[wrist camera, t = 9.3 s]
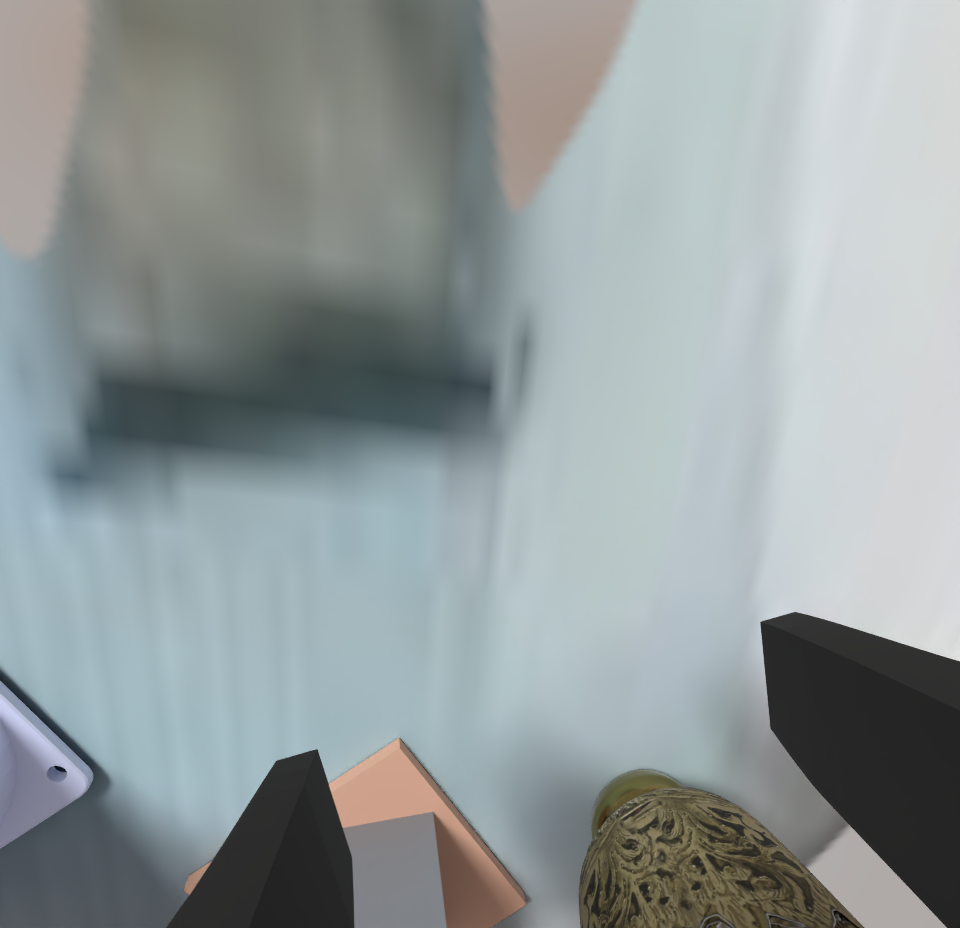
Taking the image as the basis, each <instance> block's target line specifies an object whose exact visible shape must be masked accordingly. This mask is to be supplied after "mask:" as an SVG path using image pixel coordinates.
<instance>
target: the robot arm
mask: <svg viewBox="0 0 960 928" xmlns="http://www.w3.org/2000/svg"><path fill="white" fill-rule="evenodd" d="M760 623H761V633H762V644H763V654H764V664H765V675H766V685H767V696H768V706H769V716H770V727H771V730H772V731H773V732H774V734H775V735H776V737H777V738H778V739H779V741H780V742H781V743H782V745H783V746H784V748H785V749H786V750H787V752H788V753H789V755H790V756H791V757H792V759H793V760H794V761H795V763H796V764H797V765H798V767H799V768H800V769H801V770H802V772H803V773H804V774H805V776H806V777H807V778H808V780H809V781H810V782H811V783H812V785H813V786H814V787H815V788H816V789H817V790H818V791H819V793H820V794H821V795H822V796H823V797H824V798H825V799H826V800H827V801H828V802H829V803H830V804H831V806H832V807H833V808H834V809H835V810H836V811H837V812H838V813H839V814H840V815H841V816H842V817H843V818H844V819H845V821H846V822H847V823H848V824H849V825H850V826H851V827H852V828H853V829H854V830H855V831H856V832H857V833H858V834H859V835H860V836H861V837H862V839H863V840H864V841H865V842H866V843H867V844H868V845H869V846H870V847H871V848H872V849H873V850H874V851H875V852H876V853H877V854H878V855H879V856H880V858H882V860H883V861H884V862H885V863H886V864H887V865H888V866H889V867H890V868H891V869H892V870H893V871H894V872H895V873H896V874H897V875H898V876H899V877H900V878H901V880H903V882H904V883H905V884H906V885H907V886H908V887H909V888H910V889H911V890H912V891H913V892H914V893H915V894H916V895H917V896H918V897H919V899H920V900H922V902H923V903H924V904H925V905H926V906H927V907H928V908H929V909H930V910H931V911H932V912H933V913H934V914H935V915H936V916H937V917H938V919H939V920H940V921H941V922H942V923H943V924H944V925H945V926H946V927H947V928H960V661H956V660H953V659H950V658H946V657H943V656H940V655H936V654H933V653H930V652H927V651H923V650H920V649H917V648H914V647H911V646H907V645H904V644H901V643H898V642H895V641H892V640H888V639H885V638H882V637H879V636H876V635H873V634H869V633H866V632H863V631H860V630H857V629H854V628H850V627H847V626H844V625H841V624H837V623H834V622H831V621H827V620H824V619H820V618H817V617H813V616H809V615H805V614H801V613H797V612H793V613H790V614H786V615H783V616H779V617H776V618H772V619H769V620H765V621H762V622H760ZM54 766H61V767H63V768H65V770H66V771H67V772H60V771H58V770H56V769H55V767H54ZM92 781H93V772H92V771H91V769H90V768H89V767H88V766H87V765H86V764H85V763H84V762H83V761H82V760H81V759H80V758H79V757H78V756H77V755H76V754H75V753H74V752H73V751H72V750H71V749H70V748H69V747H68V746H67V745H66V744H65V743H64V742H63V741H62V740H61V739H60V738H59V737H58V736H57V735H56V734H54V733H53V732H52V731H51V730H50V729H49V728H48V727H47V726H46V725H45V724H44V723H43V722H42V721H41V720H40V719H39V718H38V717H37V716H36V715H35V714H34V713H33V712H32V711H31V710H30V709H29V708H28V707H27V706H26V705H25V704H24V703H23V702H22V701H21V700H19V699H18V698H17V697H16V696H15V695H14V694H13V693H12V692H11V691H10V690H9V689H8V688H7V687H6V686H5V685H4V684H3V683H2V682H1V681H0V849H1V848H2V847H4V846H6V845H7V844H9V843H10V842H12V841H13V840H15V839H16V838H18V837H19V836H21V835H22V834H24V833H26V832H27V831H29V830H30V829H32V828H33V827H35V826H36V825H38V824H39V823H41V822H42V821H44V820H46V819H47V818H49V817H50V816H52V815H53V814H55V813H56V812H58V811H59V810H61V809H62V808H64V807H66V806H67V805H69V804H70V803H72V802H73V801H75V800H76V799H78V798H79V797H81V796H82V795H83V794H84V793H85V792H86V791H87V790H88V788H89V787H90V785H91V783H92ZM167 928H354V890H353V864H352V855H351V852H350V849H349V846H348V843H347V840H346V837H345V834H344V831H343V827H342V824H341V821H340V818H339V815H338V812H337V809H336V806H335V803H334V799H333V796H332V793H331V790H330V787H329V784H328V781H327V778H326V775H325V772H324V768H323V765H322V762H321V759H320V756H319V753H318V750H317V749H316V750H313V751H309V752H306V753H302V754H299V755H295V756H292V757H288V758H285V759H281V760H278V761H276V762H275V764H274V765H273V767H272V768H271V770H270V771H269V773H268V775H267V776H266V778H265V779H264V781H263V782H262V784H261V785H260V787H259V788H258V790H257V792H256V793H255V795H254V796H253V798H252V799H251V801H250V803H249V804H248V806H247V807H246V809H245V811H244V812H243V814H242V815H241V817H240V818H239V820H238V822H237V823H236V825H235V826H234V828H233V829H232V831H231V833H230V834H229V836H228V837H227V839H226V841H225V842H224V844H223V845H222V847H221V848H220V850H219V851H218V853H217V854H216V856H215V857H214V859H213V860H212V862H211V863H210V865H209V866H208V868H207V869H206V871H205V872H204V874H203V876H202V877H201V879H200V880H199V882H198V883H197V885H196V886H195V888H194V889H193V891H192V892H191V894H190V895H189V897H188V898H187V900H186V901H185V902H184V904H183V905H182V907H181V908H180V909H179V911H178V912H177V914H176V915H175V916H174V918H173V919H172V921H171V922H170V923H169V925H168V926H167Z"/></svg>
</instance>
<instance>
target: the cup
mask: <svg viewBox="0 0 960 928" xmlns="http://www.w3.org/2000/svg"><path fill="white" fill-rule="evenodd" d="M591 834H592V839H593V840H592V842H591V844H590V846H589V848H588V851H587V853H586V856H585V860H584V863H583V867H582V871H581V877H580V888H579V911H580V924H581V928H864V927H863V926H862V925H861V924H860V923H859V922H858V921H857V920H856V919H855V918H854V917H853V916H852V915H851V913H850V912H849V911H848V910H847V909H846V908H845V907H844V906H843V905H842V904H841V903H840V902H839V901H838V900H837V899H836V898H835V897H834V896H833V895H832V894H831V893H830V892H829V891H828V890H827V889H826V888H825V887H824V886H823V885H822V884H821V882H820V881H819V880H818V879H817V878H816V877H815V876H814V875H813V874H812V873H811V872H810V871H809V870H808V869H807V868H806V867H805V866H804V865H803V864H802V863H801V862H800V861H799V860H798V859H797V858H796V857H795V856H794V855H793V854H792V853H791V852H790V851H789V850H788V849H787V848H786V847H785V846H784V845H783V844H782V843H781V842H780V841H779V840H778V839H777V838H776V837H775V836H774V835H773V834H771V833H770V832H769V831H768V830H767V829H766V828H765V827H764V826H763V825H761V824H760V823H759V822H758V821H757V820H756V819H754V818H753V817H752V816H750V815H749V814H748V813H746V812H745V811H744V810H742V809H741V808H740V807H738V806H737V805H735V804H733V803H731V802H729V801H727V800H725V799H724V798H722V797H720V796H717V795H715V794H712V793H709V792H705V791H702V790H698V789H692V788H684V787H683V786H682V785H681V784H680V783H678V782H677V781H675V780H674V779H672V778H671V777H669V776H667V775H665V774H663V773H661V772H658V771H654V770H645V769H642V770H635V771H631V772H627V773H625V774H622V775H620V776H619V777H617V778H615V779H614V780H612V781H611V782H610V783H609V784H608V785H607V786H606V787H605V788H604V789H603V790H602V791H601V793H600V794H599V796H598V798H597V800H596V802H595V804H594V807H593V812H592V820H591Z"/></svg>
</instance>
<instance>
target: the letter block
mask: <svg viewBox="0 0 960 928" xmlns="http://www.w3.org/2000/svg"><path fill="white" fill-rule="evenodd" d="M343 831H344V834H345V837H346V840H347V843H348V846H349V849H350V852H351V855H352V864H353V890H354V928H447V926H446V918H445V909H444V901H443V892H442V884H441V875H440V867H439V858H438V850H437V841H436V833H435V824H434V816H433V812H429V813H423V814H417V815H412V816H406V817H401V818H395V819H390V820H384V821H378V822H373V823H367V824H362V825H356V826H351V827H345V828H343Z"/></svg>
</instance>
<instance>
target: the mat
mask: <svg viewBox="0 0 960 928" xmlns="http://www.w3.org/2000/svg"><path fill="white" fill-rule="evenodd" d="M329 787H330V790H331V793H332V796H333V799H334V803H335V806H336V809H337V812H338V815H339V818H340V821H341V824H342V827H343V828H345V827H351V826H356V825H362V824H367V823H373V822H378V821H384V820H390V819H395V818H401V817H406V816H412V815H417V814H423V813H429V812H433V816H434V824H435V833H436V841H437V850H438V858H439V867H440V875H441V884H442V892H443V901H444V909H445V918H446V926H447V928H492V927H493V926H495V925H496V924H498V923H499V922H501V921H502V920H504V919H505V918H507V917H508V916H510V915H511V914H513V913H514V912H516V911H517V910H519V909H520V908H522V907H523V906H525V905H526V900H525V896H524V892H523V891H522V889H521V888H520V887H519V886H518V884H517V883H516V882H515V881H514V879H513V878H512V877H511V876H510V874H509V873H508V872H507V871H506V869H505V868H504V867H503V866H502V865H501V863H500V862H499V861H498V860H497V858H496V857H495V856H494V855H493V853H492V852H491V851H490V850H489V848H488V847H487V846H486V845H485V843H484V842H483V841H482V840H481V839H480V837H479V836H478V835H477V834H476V832H475V831H474V830H473V829H472V827H471V826H470V825H469V824H468V822H467V821H466V820H465V819H464V817H463V816H462V815H461V814H460V812H459V811H458V810H457V809H456V808H455V806H454V805H453V804H452V803H451V801H450V800H449V799H448V798H447V796H446V795H445V794H444V793H443V791H442V790H441V789H440V788H439V786H438V785H437V784H436V783H435V782H434V780H433V779H432V778H431V777H430V775H429V774H428V773H427V772H426V770H425V769H424V768H423V767H422V765H421V764H420V763H419V762H418V760H417V759H416V758H415V757H414V756H413V754H412V753H411V752H410V751H409V749H408V748H407V747H406V746H405V744H404V743H403V742H402V741H401V739H400V738H398V739H397V740H395V741H394V742H392V743H390V744H389V745H387V746H386V747H384V748H383V749H381V750H380V751H378V752H377V753H375V754H374V755H372V756H371V757H369V758H368V759H366V760H365V761H363V762H362V763H360V764H358V765H357V766H355V767H354V768H352V769H351V770H349V771H348V772H346V773H345V774H343V775H342V776H340V777H339V778H337V779H336V780H334V781H333V782H331V783H330V784H329ZM211 862H212V861H211ZM211 862H209V863H208V864H206V865H204V866H203V867H201V868H200V869H198V870H197V871H195V872H194V873H192V874H191V875H189V876H188V878H187V881H186V884H185V887H184V891H185V892H186V893H187V894H188V895H190V894H191V892H192V891H193V889H194V888H195V886H196V885H197V883H198V882H199V880H200V879H201V877H202V876H203V874H204V872H205V871H206V869H207V868H208V866H209V865H210V863H211Z"/></svg>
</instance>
